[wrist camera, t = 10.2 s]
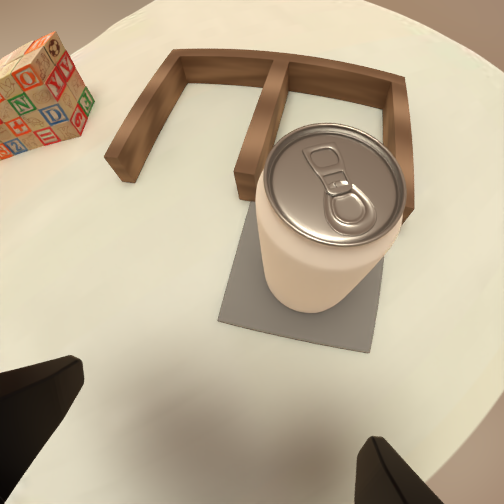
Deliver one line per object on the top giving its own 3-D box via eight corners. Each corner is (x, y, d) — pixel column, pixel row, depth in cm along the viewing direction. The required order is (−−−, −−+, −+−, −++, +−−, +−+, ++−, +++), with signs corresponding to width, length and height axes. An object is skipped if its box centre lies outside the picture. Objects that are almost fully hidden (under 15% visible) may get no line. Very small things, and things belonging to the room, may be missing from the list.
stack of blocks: (-21, 169, 32) (-68, 125, 20) (-6, 137, 34) (-47, 91, 22) (82, 136, 30) (29, 61, 19) (96, 100, 32) (55, 28, 21)
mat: (368, 353, 20) (369, 352, 20) (218, 321, 22) (217, 320, 22) (384, 231, 23) (386, 229, 23) (250, 203, 25) (250, 201, 25)
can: (279, 326, 21) (284, 283, 10) (253, 243, 23) (232, 135, 12) (365, 297, 21) (443, 228, 10) (333, 218, 24) (370, 105, 12)
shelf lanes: (396, 231, 23) (414, 208, 20) (122, 181, 27) (103, 156, 23) (395, 103, 28) (404, 77, 24) (180, 75, 32) (172, 49, 28)
